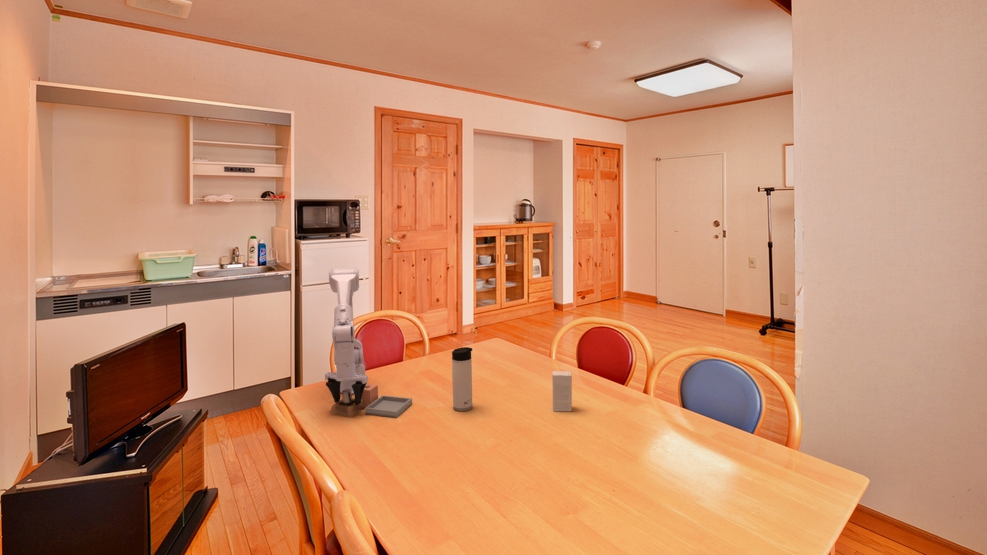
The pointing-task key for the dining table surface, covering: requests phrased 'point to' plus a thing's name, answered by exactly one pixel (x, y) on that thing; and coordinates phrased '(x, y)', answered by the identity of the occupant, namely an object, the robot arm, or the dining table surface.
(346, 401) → the cylinder
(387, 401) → the tray
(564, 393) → the skincare box
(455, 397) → the travel mug
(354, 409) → the brown square frame
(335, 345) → the robot arm
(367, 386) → the block
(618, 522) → the dining table surface
